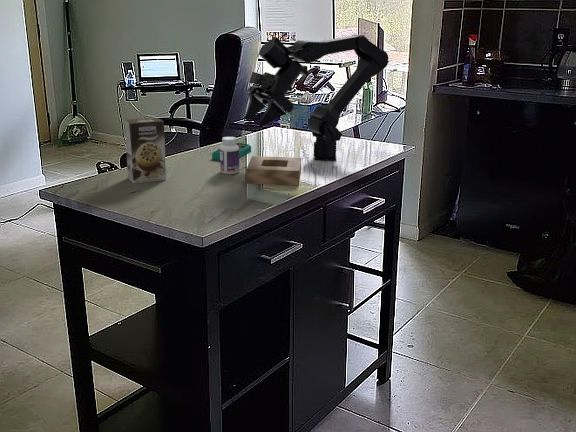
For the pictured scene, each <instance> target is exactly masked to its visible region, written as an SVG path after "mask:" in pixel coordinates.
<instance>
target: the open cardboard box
mask: <svg viewBox="0 0 576 432" xmlns="http://www.w3.org/2000/svg"><path fill="white" fill-rule="evenodd" d="M245 171H246V173H245V174H246V175H245V176H246V181H245V182H246V184H249V185H253V184H254V185H274V186H275V185H276V186H280V185H281V186H300V182H301V174H302V157H291V156H289V157H288V156H286V157H285V156H265V155H264V156H261V155H260V156H259V155H252V156H251V158H250V161H249V163H248V164H247V167H246V170H245Z"/></svg>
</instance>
